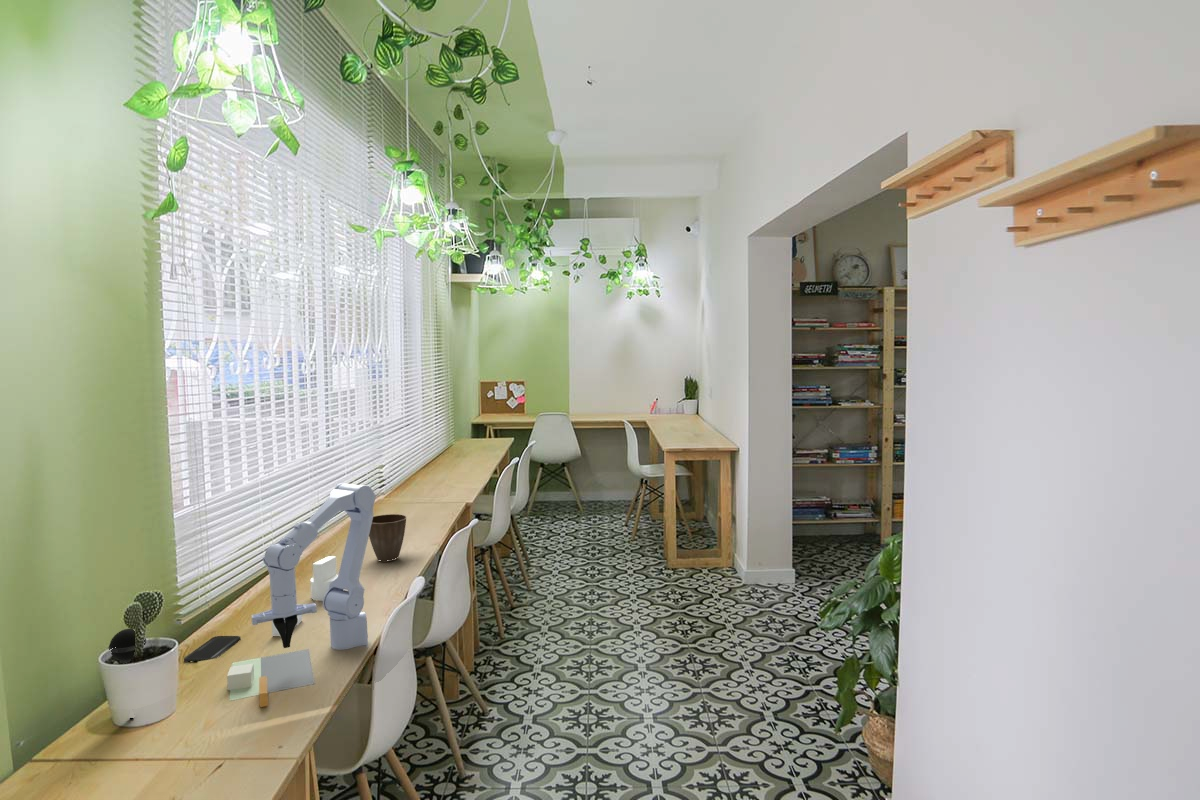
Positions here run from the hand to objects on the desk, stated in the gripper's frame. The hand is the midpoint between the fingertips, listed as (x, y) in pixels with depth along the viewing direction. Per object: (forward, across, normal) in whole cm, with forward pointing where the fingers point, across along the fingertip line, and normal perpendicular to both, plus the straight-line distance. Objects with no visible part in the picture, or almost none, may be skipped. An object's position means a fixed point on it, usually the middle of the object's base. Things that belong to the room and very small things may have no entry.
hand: (286, 646), depth 174 cm
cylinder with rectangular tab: (+8, -19, -55) cm, 58 cm away
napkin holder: (+8, -3, -32) cm, 33 cm away
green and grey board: (+7, +4, -1) cm, 8 cm away
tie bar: (+6, +7, +13) cm, 16 cm away
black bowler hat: (+7, +32, +5) cm, 33 cm away
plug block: (+6, +10, +2) cm, 12 cm away
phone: (+8, +15, -27) cm, 32 cm away
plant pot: (+9, -46, -85) cm, 98 cm away
